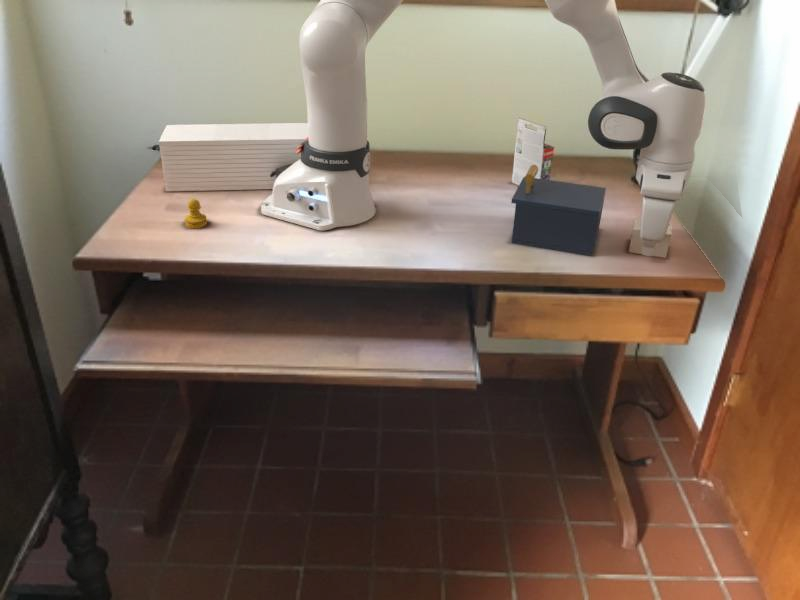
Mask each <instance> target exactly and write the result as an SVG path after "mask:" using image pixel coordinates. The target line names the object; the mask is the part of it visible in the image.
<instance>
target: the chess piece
mask: <svg viewBox="0 0 800 600" xmlns="http://www.w3.org/2000/svg"><path fill="white" fill-rule="evenodd" d="M201 208H202V206H201V203H200V201H199V200H198V199H197V198H192V199H190V200H189V201H188V203H187V210H189V213H188V215H186V216H185V217H184V222H185V226H186V228H189V229H201V228H204V227H205V226H207V224H208V220H207V215H206V214H204V213H201V212H200V209H201Z"/></svg>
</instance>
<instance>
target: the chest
mask: <svg viewBox="0 0 800 600" xmlns="http://www.w3.org/2000/svg"><path fill="white" fill-rule="evenodd" d="M605 196H606V194H605V195H604V199H603V203H602V206H601V210H600V214H599V216H597V215H590V214H584V213H577V212H570V211H563V210H556V209H550V208H543V207H536V206H529V205H522V204H516V203H515V207H514V217H513V226H512V234H511V235H512V236H511V244H516V245H521V246H528V247H534V248H539V249H547V250H554V251H559V252H565V253H571V254H576V255H583V256H590V257H592V256H593V255H594V250H595V246H596V243H597V239H598V235H599V231H600V226H601V221H602V215H603V208H604V202H605Z"/></svg>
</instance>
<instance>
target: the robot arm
mask: <svg viewBox="0 0 800 600" xmlns="http://www.w3.org/2000/svg"><path fill="white" fill-rule="evenodd" d="M403 1H404V0H319V2H318V3H317V5H316V6H315V7H314V9H313V10H312V12H311V13H310V14H309V16H308V17H307V18H306V20H305V21H304V23H302V24H303V25H301V29H300V32H299V36H298V43H299V44H298V45H299V55H300V64H301V72H302V81H303V86H304V92H305V99H306V100H305V101H306V116H307V123H308V137H307V138H306V141H304V142H303V143H301V144H300V146H299V147H298V148H297V149H296V150H298V149H299V150H298V151H297V153H296V154H299V153H300V152H301V159H299V160H298V161H297V162H295V163H294V164H293V163H292V164H289V165H286V166H283V167H280V168H277V169H276V171H274V172H272V173H271V175H270V176H271V177H273V176H274V175H276V180H275V182H274V186H273V189H272V193H271V194H269V195H268V196H267V197H266V198H265V199H264V200H263V202H262V203H261V206H260V212H261V215H263V216H266V217H270V218H274V219H277V220H281V221H284V222H288V223H292V224H296V225H299V226H301V227H302V226H303V227H306V228H310V229H313V230H317V231H322V232H323V231H328V230H332V229H335V228H341V227H349V226H350V227H351V226H355V225H360V224H363V223H365V222H367V221H370V220H371V219H373V217H374V216H375V215H376V212H377V209H376V206H375V203H374V199H373V195H372V191H371V183H370V176H369V175H370V174H369V173H370V168H371V151H370V150H371V148H370V147H371V146H370V141H369V140H368V95H367V94H368V93H367V81H366V80H367V79H366V78H367V77H366V48H367V46H368V44H369V43H370V41H371V40H372V39H373V37H374V36H375V34H376V33H377V32H378V31H379V30H380V29H381V27H382V26H383V25H384V24H385V22H386V21H387V20H388V19H389V17H390V16H391V15H392V14H393V13H394V12H395V11H396V9H398V7H399V6H400V5H401V4H402V2H403ZM543 1H544V3H545V5H546V6H547V8H548V10H549V12H550V13H551V15H552V17H553V18H554V19H555V20H557V21H559V22H560V23H562V24H564V25H567V26H569V27H571V28H573V29H574V30H576V31H577V32H578V33H579V34H580V35H581V36H582V37H583V39H584V40H585V42H586V44H587V47H588V49H589V51H590V54H591V57H592V60H593V62H594V65H595V67H596V69H597V72H598V75H599V77H600V80H601V81H600V82H601V96H600V97H599V98H598V100H597V101H596V102H595V104H594V105H593V106H592V108H591V110H590V112H589V114H588V117H587V118H588V119H587V126H588V132H589V133H590V135H591V138H592V139H593V141H595V142H596V143H597V144H598V145H600V146H601V147H603V148H605V149H609V150H639V151H640V152H639V156H638V161H637V167H636V172H635V179H636V181H637V183H638V185H639V193H640V196H642V197H641V198H642V203H641V215H640V217H641V218H640V220H641V229H640V237H641V240H644V245H643V250H642V254H641V255H643V256H645V257H653V256H652V255H653V250H654V247H655V244H656V243H660V242H662V240H663V238H664V236H665V234H666V231H667V228H668V225H669V224H670V223H671V219H672V217H673V213H674V210H675V206H676V203H677V201H680V200H681V198H682V195H683V192H684V190H685V189H686V188H687V187H688V185H689V182H690V178H691V174H692V170H693V166H694V162H695V156H696V155H695V146H696V143H697V140H698V138H699V137H700V135H701V132H702V127H703V124H704V123H703V122H704V117H705V110H706V101H707V95H706V90H705V87H704V86H703V84H702V83H701V82H700V81H699V80H697V79H695V78H694V77H693V76H689V75H687V74H684V73H680V72H670V71H668V72H663V73H661V74H660V75H658V76H657V77H654V78H652V79H650V80H649V79H648V78H647V77H646V76H645V74H644V73H643V72H642V71H641V69H640V68H639V67H638V65H637V62H636V61H635V58H634V55H633V52H632V50H631V46H630V44H629V42H628V38H627V36H626V33H625V31H624V28H623V26H622V23H621V19H620V17H619V13H618V9H617V4H616V0H543ZM156 149H158V150H160V146H159V144H154V145H153V146H152V147H151V150H153V151H154V150H156Z"/></svg>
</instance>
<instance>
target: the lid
mask: <svg viewBox="0 0 800 600" xmlns="http://www.w3.org/2000/svg"><path fill="white" fill-rule="evenodd" d="M537 172H538V167H537V166H536V165H532V166H530V168H529V170H528V172H527V174H526V176H525V177H523V179H522V181H521V183H520V185H519V186H517V189H516V190H515V193H514V194H513V196H512V198H511V204H515V205H516V204H522V205H529V206H536V207H543V208H550V209H556V210H563V211H570V212H577V213H584V214H590V215H597V216H599V214H600V210H601V206H602V203H603V199H604V200H605V197H604V195H605V196H606V191H607V187H603V186H602V187H601V186H594V185H587V184H582V183H581V184H580V183H575V182H574V183H573V182H565V181H560V180H559V181H558V180H551V179H550V180H544V179H537V178H535V176H536V174H537ZM603 204H604V203H603Z"/></svg>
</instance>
